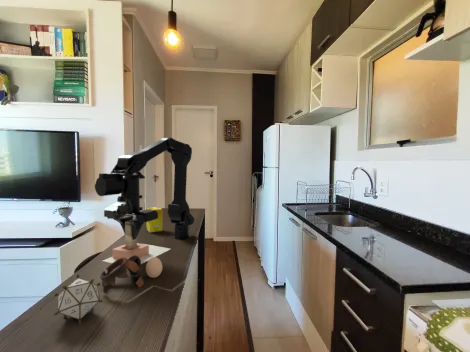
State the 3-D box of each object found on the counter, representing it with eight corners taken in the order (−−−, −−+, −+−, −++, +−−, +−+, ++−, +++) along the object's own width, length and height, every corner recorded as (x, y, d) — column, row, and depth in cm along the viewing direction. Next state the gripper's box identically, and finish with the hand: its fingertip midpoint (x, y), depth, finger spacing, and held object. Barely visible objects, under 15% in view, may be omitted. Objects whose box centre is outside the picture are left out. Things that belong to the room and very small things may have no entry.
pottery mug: (138, 297, 59) (119, 272, 57) (107, 310, 61) (87, 286, 59) (156, 265, 71) (140, 242, 68) (129, 276, 72) (113, 255, 70)
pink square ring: (131, 250, 88) (131, 241, 88) (148, 253, 85) (148, 245, 84) (112, 258, 80) (112, 249, 80) (130, 262, 77) (130, 252, 77)
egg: (142, 280, 67) (142, 260, 66) (150, 273, 71) (150, 254, 71) (158, 281, 66) (157, 261, 66) (165, 274, 70) (164, 254, 70)
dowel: (131, 245, 84) (130, 220, 84) (137, 246, 83) (136, 220, 82) (125, 248, 82) (124, 221, 81) (131, 249, 81) (130, 222, 80)
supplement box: (146, 231, 114) (145, 207, 113) (159, 229, 117) (159, 206, 116) (149, 234, 109) (149, 210, 108) (162, 232, 112) (162, 208, 111)
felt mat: (143, 245, 95) (143, 243, 95) (171, 250, 89) (171, 248, 89) (102, 262, 78) (102, 260, 78) (132, 269, 73) (132, 268, 73)
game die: (75, 330, 52) (73, 282, 57) (113, 314, 53) (108, 268, 57) (40, 336, 44) (41, 279, 49) (86, 317, 45) (83, 263, 49)
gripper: (88, 193, 78) (89, 242, 79) (132, 197, 70) (133, 250, 71) (117, 190, 88) (118, 232, 89) (158, 193, 80) (159, 239, 81)
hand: (131, 238), depth 82 cm, fingers closed on dowel, 2 cm apart
